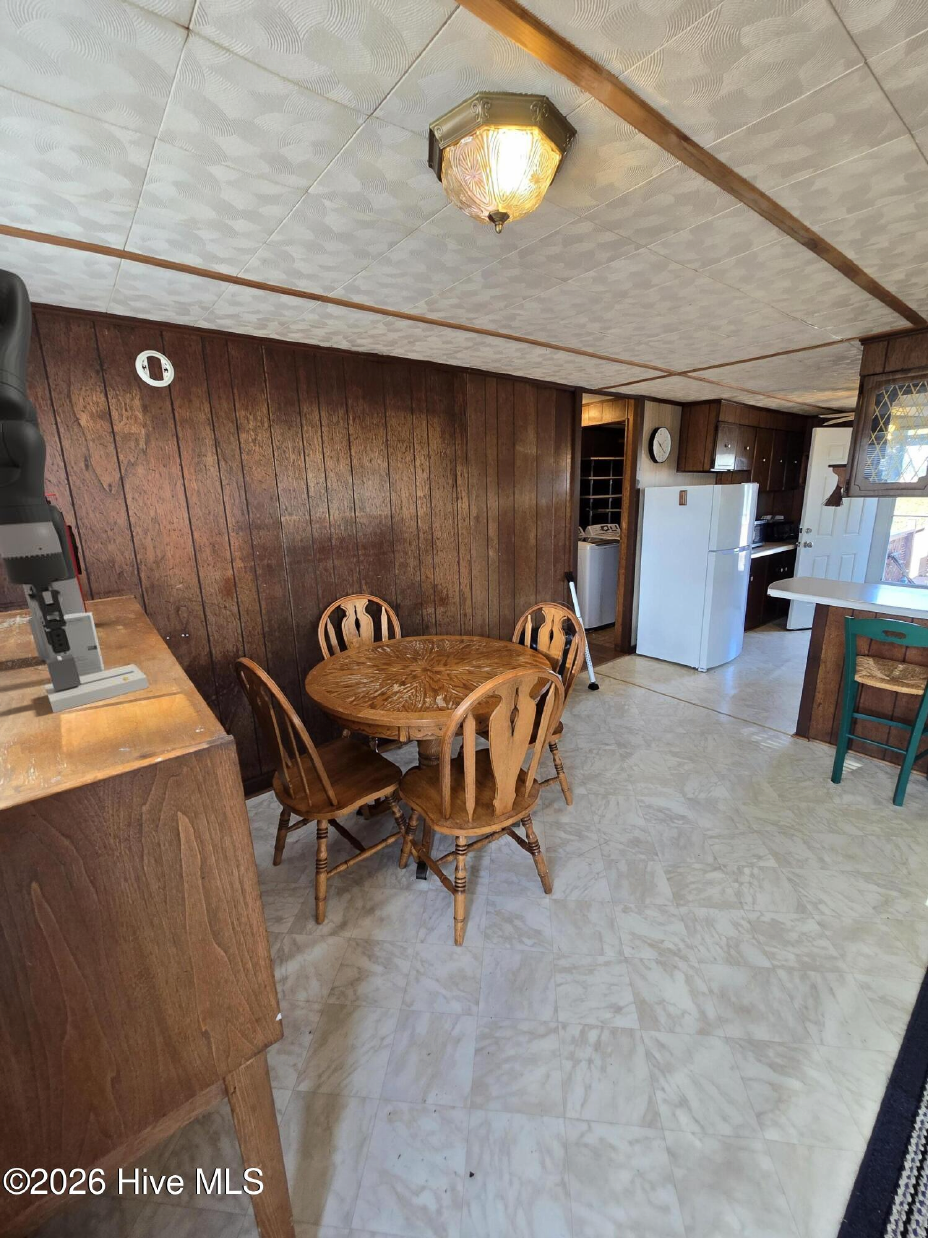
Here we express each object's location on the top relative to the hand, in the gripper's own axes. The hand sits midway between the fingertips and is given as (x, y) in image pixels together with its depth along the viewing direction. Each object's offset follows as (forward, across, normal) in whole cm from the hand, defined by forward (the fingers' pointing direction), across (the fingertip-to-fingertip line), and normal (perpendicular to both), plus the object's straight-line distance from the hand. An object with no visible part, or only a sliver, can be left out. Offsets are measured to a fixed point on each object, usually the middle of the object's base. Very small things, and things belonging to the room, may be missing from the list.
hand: (59, 647), depth 84 cm
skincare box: (+9, +15, -4) cm, 18 cm away
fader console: (+9, 0, -4) cm, 10 cm away
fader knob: (+7, 0, 0) cm, 7 cm away
